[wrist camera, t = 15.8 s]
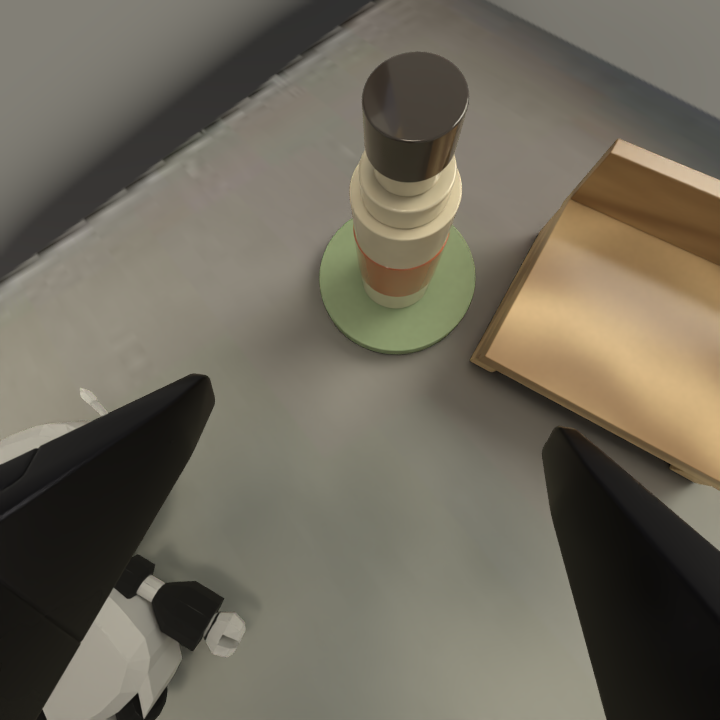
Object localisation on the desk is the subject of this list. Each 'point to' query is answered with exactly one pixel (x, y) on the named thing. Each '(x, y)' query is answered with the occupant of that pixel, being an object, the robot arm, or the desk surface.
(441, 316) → the disc
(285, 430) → the desk surface
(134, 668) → the robot toy
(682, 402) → the shelf
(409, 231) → the spice bottle
